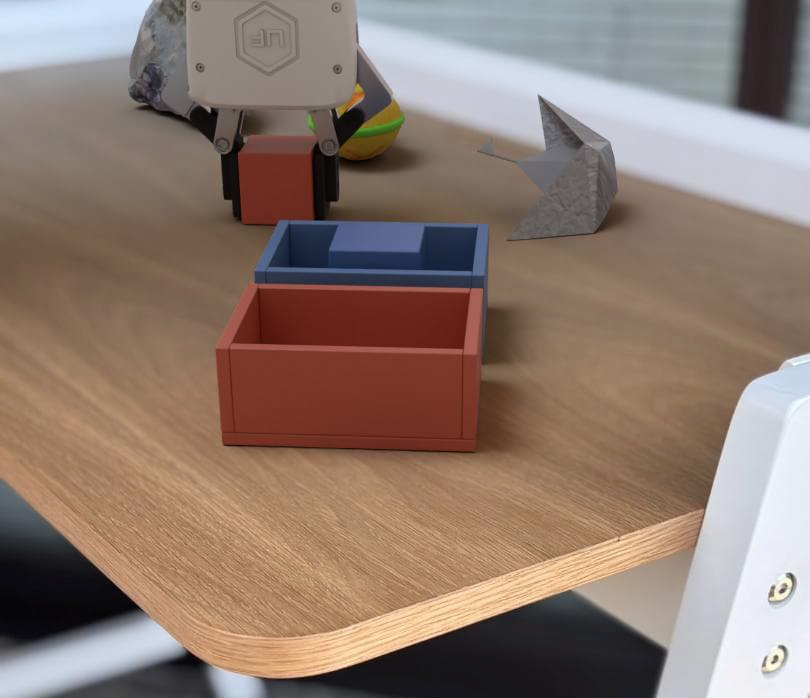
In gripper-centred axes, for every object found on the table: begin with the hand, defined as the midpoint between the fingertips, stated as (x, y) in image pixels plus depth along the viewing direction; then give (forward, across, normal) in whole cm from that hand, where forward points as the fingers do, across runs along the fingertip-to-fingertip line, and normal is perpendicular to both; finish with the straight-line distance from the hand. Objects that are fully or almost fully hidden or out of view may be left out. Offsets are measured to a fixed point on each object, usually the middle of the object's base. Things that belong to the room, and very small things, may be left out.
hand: (282, 208), depth 96 cm
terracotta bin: (0, +8, -30) cm, 31 cm away
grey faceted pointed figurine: (+1, +17, +1) cm, 17 cm away
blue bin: (0, +8, -20) cm, 22 cm away
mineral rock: (+1, -11, +25) cm, 27 cm away
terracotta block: (0, 0, 0) cm, 0 cm away
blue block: (0, +8, -20) cm, 22 cm away
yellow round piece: (+1, +3, +15) cm, 15 cm away
